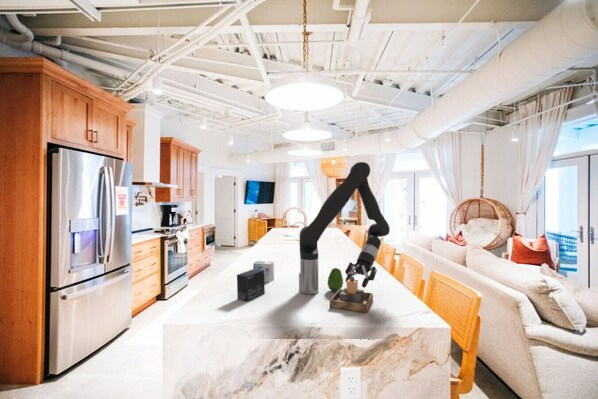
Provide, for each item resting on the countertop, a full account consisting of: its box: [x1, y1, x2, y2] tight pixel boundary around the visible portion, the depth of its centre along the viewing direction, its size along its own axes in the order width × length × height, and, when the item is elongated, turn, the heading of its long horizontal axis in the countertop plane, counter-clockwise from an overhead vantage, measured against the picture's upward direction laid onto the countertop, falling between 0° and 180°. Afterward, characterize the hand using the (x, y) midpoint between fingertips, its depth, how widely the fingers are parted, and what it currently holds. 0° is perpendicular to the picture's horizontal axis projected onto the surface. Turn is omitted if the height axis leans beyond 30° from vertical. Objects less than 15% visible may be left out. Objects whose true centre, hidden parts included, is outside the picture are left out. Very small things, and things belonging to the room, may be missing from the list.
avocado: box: [327, 267, 344, 293], centre depth 150 cm, size 8×8×12 cm
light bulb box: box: [252, 260, 275, 284], centre depth 170 cm, size 11×7×11 cm, turn 73°
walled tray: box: [329, 287, 374, 314], centre depth 132 cm, size 16×16×6 cm
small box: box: [236, 268, 266, 302], centre depth 143 cm, size 13×7×12 cm, turn 149°
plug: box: [346, 276, 359, 294], centre depth 132 cm, size 4×4×12 cm
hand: (354, 284), depth 134 cm, fingers open, 8 cm apart
